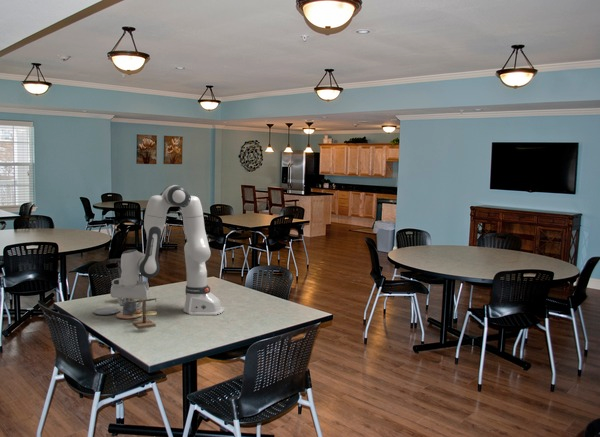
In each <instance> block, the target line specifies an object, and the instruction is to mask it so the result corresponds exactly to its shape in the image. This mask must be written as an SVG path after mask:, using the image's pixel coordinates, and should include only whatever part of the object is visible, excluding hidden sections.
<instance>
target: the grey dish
mask: <svg viewBox="0 0 600 437" xmlns="http://www.w3.org/2000/svg"><path fill="white" fill-rule="evenodd" d="M120 312H121V310H120V308H118V307H116V306H115V307H114V306H113V307H111V306H108V307H107V306H106V307H104V306H103V307H99V308H96V309H94V310H93V313H94V314H96V315H101V316H102V315H103V316H107V315H108V316H109V315H114V314H118V313H120Z"/></svg>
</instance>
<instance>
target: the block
mask: <svg viewBox="0 0 600 437" xmlns="http://www.w3.org/2000/svg"><path fill="white" fill-rule="evenodd" d="M135 310H137V302H136V303H133V313H135ZM122 312H123V315H129V316H132V302H126V303H125V302H124V304H123V306H122Z"/></svg>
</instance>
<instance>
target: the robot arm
mask: <svg viewBox="0 0 600 437" xmlns="http://www.w3.org/2000/svg"><path fill="white" fill-rule="evenodd" d="M173 206H174V207H179V208H180V209H181V212H182V213H181V214H182V222H183V223H182V224H183V230H184V234H185V238H186V242H185V244H184V246H183V250H184V260H185V269H186V285H185V289H184V291H185V302H184V307H183V310H182V311H183V312H184V313H187V314H188V315H190V316H191V315H192V316H217V314H219V315H221V314H223V313H224V312H225V310H224V309H225V307H224V306H222V305H221V300H220V298H219V297H217V296H216V295H215V294H213V293H212V292H211V287H212V286H210V285H208V279H207V278H208V270H207V265H206V262H207V261H208V260H209V259H210V257H211V254H212V253H211V252H212V251H211V249H210V245H209V241H208V236H207V232H206V229H205V228H206V226H205V219H204V212H203V211H204V210H203V206H202V203H201V200H200V198H199V197H198V196H195V195H190V194H189V193H188V191H187V190H186V188H184V187H183V186H181V185H177V184H173V185H172V184H171V185H168V186H167V187H165V188H164V189H163V191H162V192H161V193H160V194H158V195H157V194H156V195H151V197H149V199H148V202H147V204H146V208H145V212H144V217H143V218H144V219H143V221H144V222H143V228H144V230H145V234H146V240H147V241H146V246H145V247H146V248H145V253H143V252H141V251H138V250H137V249H127V250H125V251H123V252H122V254H121V257H120V269H121V274H120V277H117V278H114V279H113V280H111V287H110V296H111V298H114V299H115V298H116V299H117V301H118V303H119V307H123V304H124V303H125V302H124V301H123V300H122V299H124V298H131V299H139V300H143V299H149V297H150V289H149V288H150V286H149V285H150V284H149V283H148V282H147V281H144V280H143V281H139V274H141V275H142V276H143V277H144V278H146V279H152V278H154V277H156V276H157V275H158V274H159V273H160V269H161V267H160V261H159V252H160V251H159V250H160V243H161V238H162V234H163V231H164V228H165V224H166V221H167V215H168V214H167V213H168V210H169V208H170V207H173ZM141 304H142V302H138V303H136V308H141V306H142V305H141ZM223 311H224V312H223ZM222 312H223V313H222ZM220 313H221V314H220Z"/></svg>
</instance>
